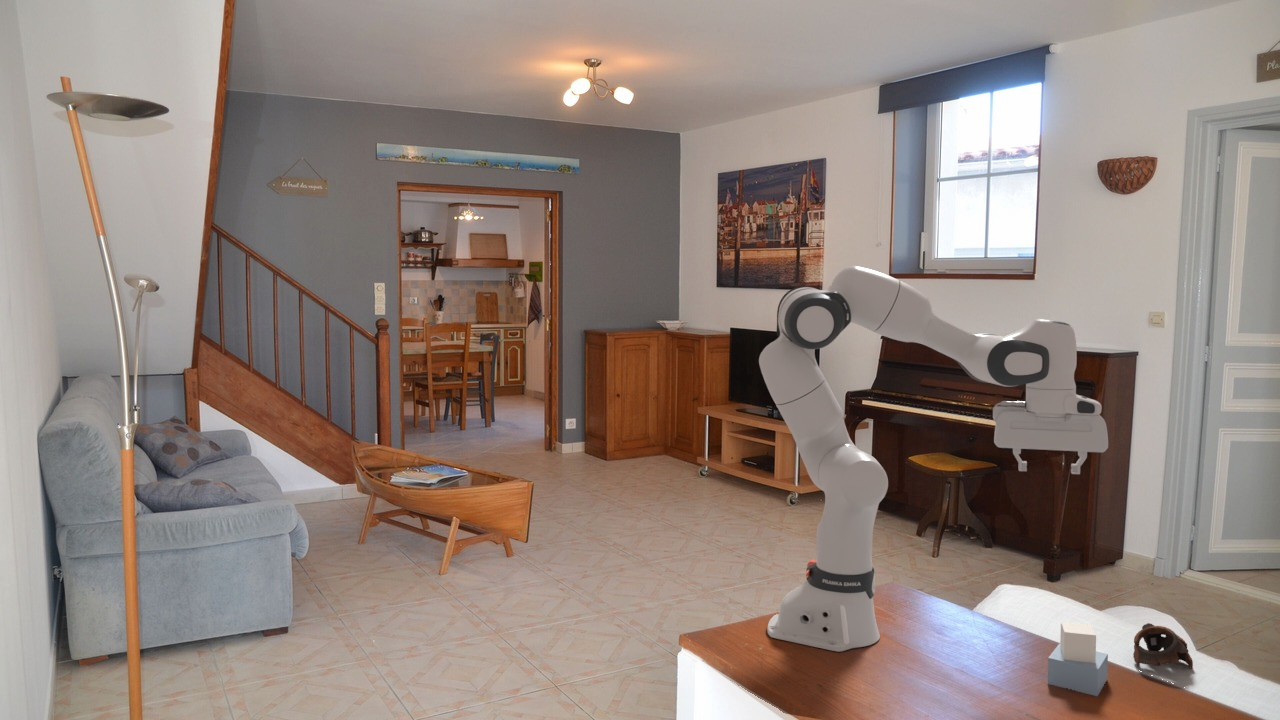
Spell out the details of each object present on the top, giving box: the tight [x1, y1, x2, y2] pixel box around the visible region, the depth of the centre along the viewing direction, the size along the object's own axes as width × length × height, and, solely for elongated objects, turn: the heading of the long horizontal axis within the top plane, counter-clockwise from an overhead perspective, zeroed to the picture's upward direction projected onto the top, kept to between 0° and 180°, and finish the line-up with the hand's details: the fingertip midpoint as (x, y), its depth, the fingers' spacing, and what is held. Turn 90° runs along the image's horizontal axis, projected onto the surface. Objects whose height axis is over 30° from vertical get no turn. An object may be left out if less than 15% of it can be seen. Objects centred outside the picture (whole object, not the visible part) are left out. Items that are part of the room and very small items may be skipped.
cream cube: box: [1059, 621, 1097, 663], centre depth 155 cm, size 5×5×5 cm
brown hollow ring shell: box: [1132, 622, 1194, 670], centre depth 163 cm, size 12×10×8 cm
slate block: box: [1047, 643, 1109, 697], centre depth 155 cm, size 8×8×5 cm
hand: (1048, 472), depth 171 cm, fingers open, 8 cm apart
